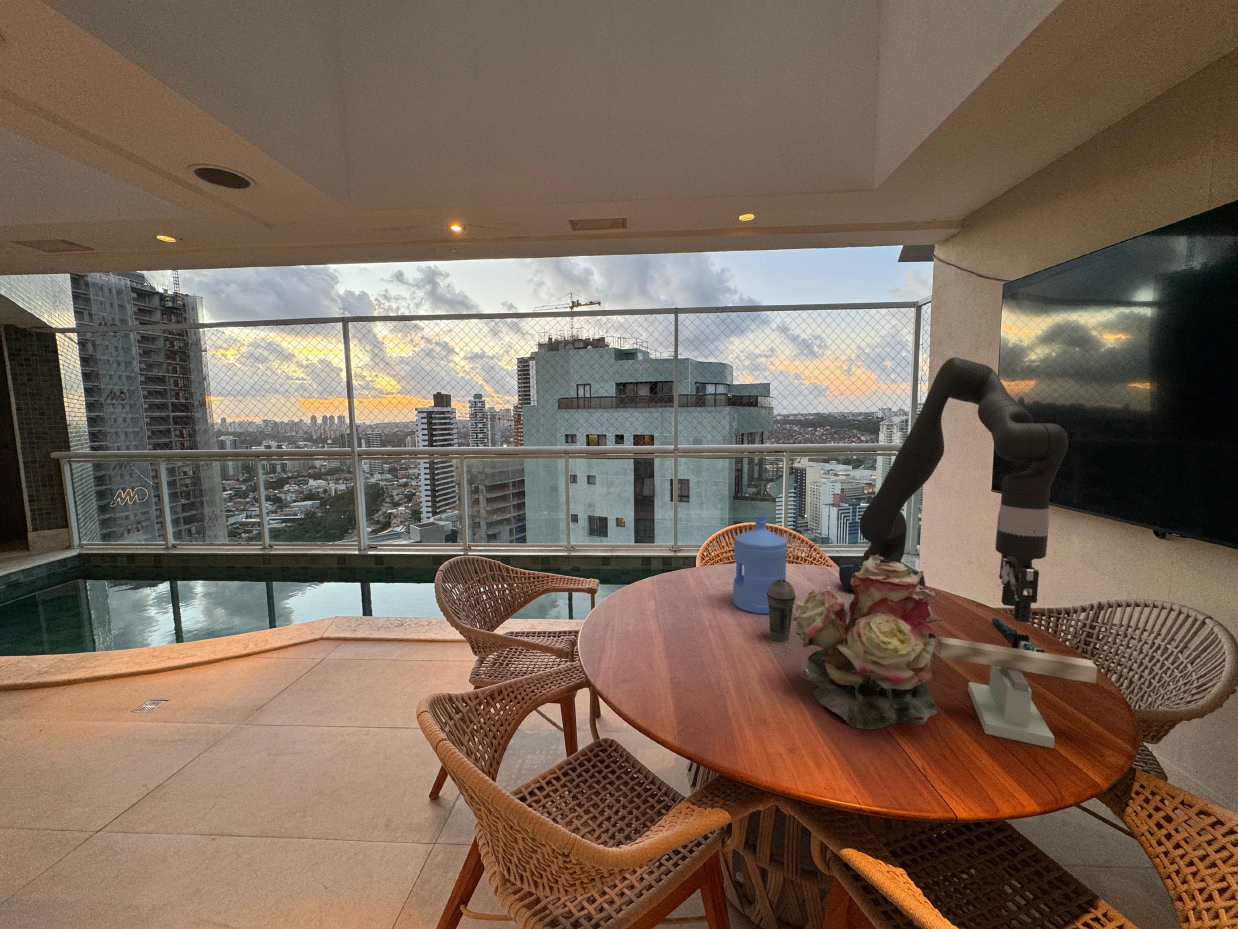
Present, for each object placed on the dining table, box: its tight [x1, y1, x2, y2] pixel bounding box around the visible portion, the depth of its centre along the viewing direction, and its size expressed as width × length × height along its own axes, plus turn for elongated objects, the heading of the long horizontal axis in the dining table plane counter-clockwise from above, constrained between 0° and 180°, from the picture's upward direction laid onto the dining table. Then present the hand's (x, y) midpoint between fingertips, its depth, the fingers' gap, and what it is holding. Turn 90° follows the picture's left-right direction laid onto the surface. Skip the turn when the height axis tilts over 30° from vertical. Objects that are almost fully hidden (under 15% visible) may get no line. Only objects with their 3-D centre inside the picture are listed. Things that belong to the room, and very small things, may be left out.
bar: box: [937, 636, 1098, 684], centre depth 98 cm, size 24×3×3 cm, turn 65°
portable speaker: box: [838, 560, 926, 592], centre depth 165 cm, size 25×10×10 cm, turn 54°
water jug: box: [732, 514, 788, 615], centre depth 155 cm, size 16×16×28 cm
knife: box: [991, 617, 1046, 653], centre depth 129 cm, size 31×3×4 cm, turn 158°
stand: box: [967, 665, 1056, 749], centre depth 98 cm, size 16×10×10 cm, turn 155°
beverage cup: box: [767, 565, 796, 642], centre depth 133 cm, size 7×7×20 cm
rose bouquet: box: [791, 554, 943, 731], centre depth 104 cm, size 26×29×30 cm
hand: (1014, 612), depth 97 cm, fingers open, 8 cm apart
